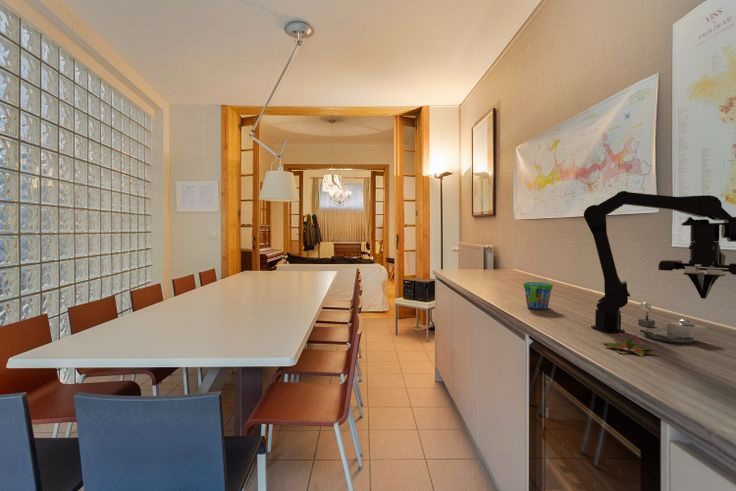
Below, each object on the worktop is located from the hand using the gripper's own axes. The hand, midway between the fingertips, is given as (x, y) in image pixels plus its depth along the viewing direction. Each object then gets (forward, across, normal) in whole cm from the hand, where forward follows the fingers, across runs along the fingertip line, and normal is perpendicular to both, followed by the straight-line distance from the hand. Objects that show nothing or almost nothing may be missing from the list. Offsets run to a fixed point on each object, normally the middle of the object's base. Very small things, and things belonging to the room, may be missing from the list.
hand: (703, 298), depth 95 cm
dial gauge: (+12, +16, -8) cm, 22 cm away
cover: (+10, +3, +1) cm, 11 cm away
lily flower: (+13, +8, +24) cm, 28 cm away
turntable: (+12, +7, +3) cm, 14 cm away
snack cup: (+12, +50, -2) cm, 52 cm away
